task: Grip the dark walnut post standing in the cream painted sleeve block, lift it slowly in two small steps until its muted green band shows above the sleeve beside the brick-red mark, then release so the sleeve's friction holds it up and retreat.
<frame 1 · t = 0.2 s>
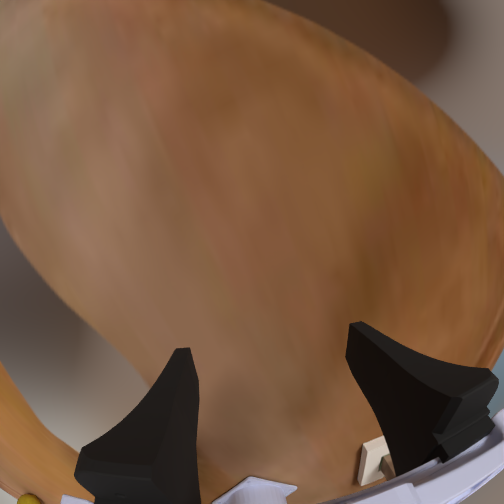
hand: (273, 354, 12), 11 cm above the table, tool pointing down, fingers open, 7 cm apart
post: (397, 465, 27), point 3 cm above the table, slide at 0.0 cm
lemon: (35, 494, 27), on the table
sleeve block: (388, 451, 30), on the table
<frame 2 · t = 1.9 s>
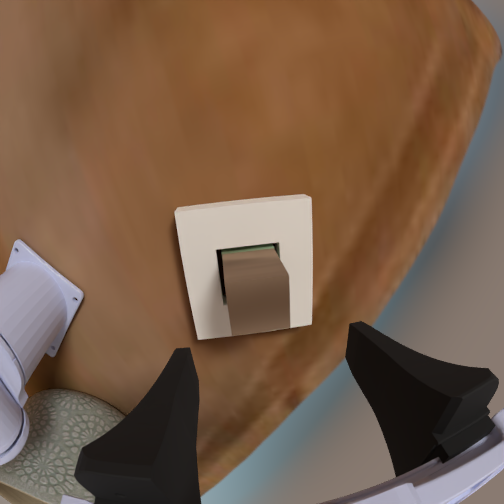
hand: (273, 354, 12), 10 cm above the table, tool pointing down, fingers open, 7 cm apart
post: (252, 283, 19), point 3 cm above the table, slide at 0.0 cm
planter: (91, 417, 26), on the table
sleeve block: (247, 266, 22), on the table
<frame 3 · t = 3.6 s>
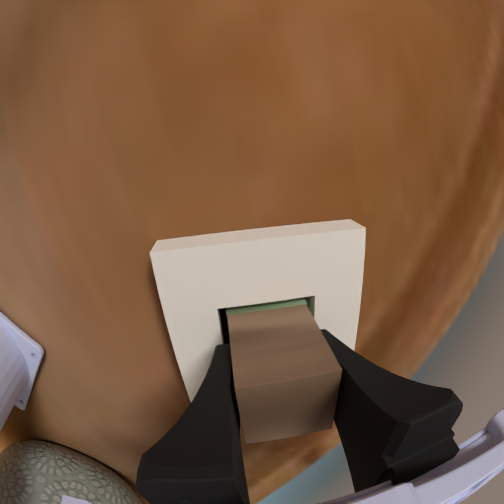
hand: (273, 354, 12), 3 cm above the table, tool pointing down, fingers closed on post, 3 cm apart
post: (275, 360, 12), point 3 cm above the table, slide at 0.0 cm, touching gripper
planter: (77, 466, 19), on the table
sleeve block: (264, 323, 15), on the table
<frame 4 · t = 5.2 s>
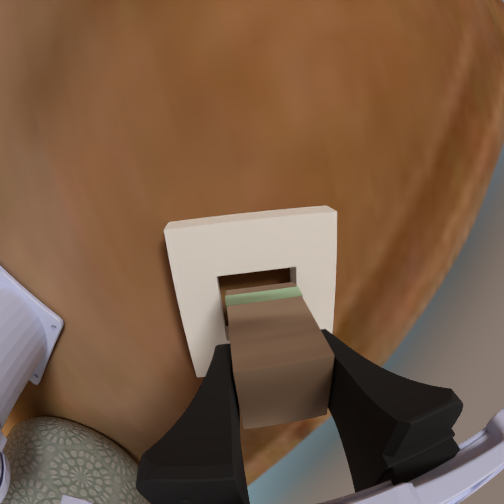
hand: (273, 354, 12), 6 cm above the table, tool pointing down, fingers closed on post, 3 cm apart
post: (272, 349, 13), point 6 cm above the table, slide at 2.6 cm, touching gripper
planter: (83, 444, 22), on the table
sleeve block: (256, 292, 18), on the table
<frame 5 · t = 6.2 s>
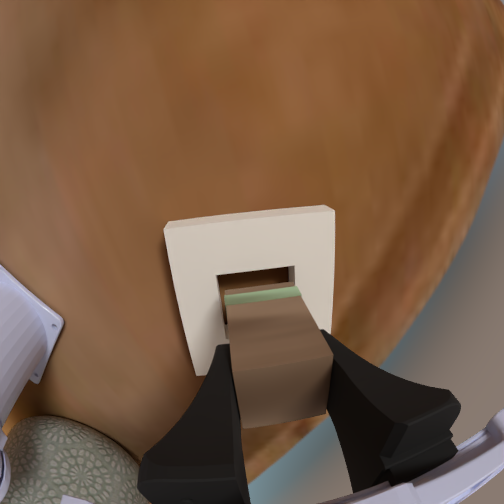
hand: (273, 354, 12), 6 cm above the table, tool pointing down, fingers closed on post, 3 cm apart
post: (271, 349, 13), point 6 cm above the table, slide at 2.7 cm, touching gripper
planter: (83, 443, 23), on the table
sleeve block: (254, 291, 18), on the table
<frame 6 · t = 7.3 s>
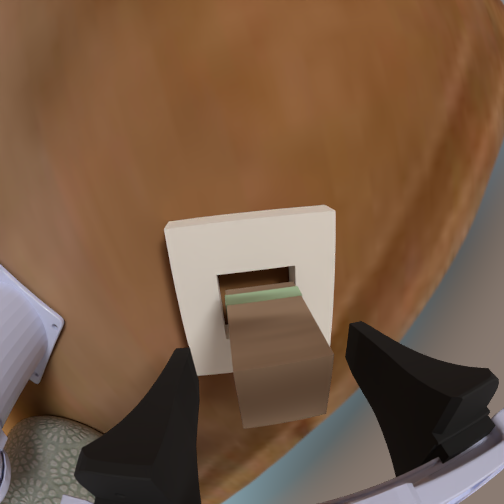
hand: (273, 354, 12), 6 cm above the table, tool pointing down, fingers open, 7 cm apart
post: (271, 349, 13), point 6 cm above the table, slide at 2.7 cm
planter: (83, 443, 23), on the table
sleeve block: (255, 291, 18), on the table
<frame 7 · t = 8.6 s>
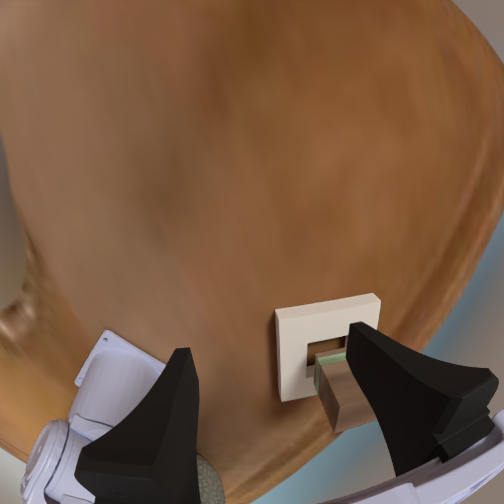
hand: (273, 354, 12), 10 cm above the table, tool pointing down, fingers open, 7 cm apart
post: (345, 387, 20), point 6 cm above the table, slide at 2.7 cm
planter: (161, 456, 30), on the table
sleeve block: (324, 346, 26), on the table
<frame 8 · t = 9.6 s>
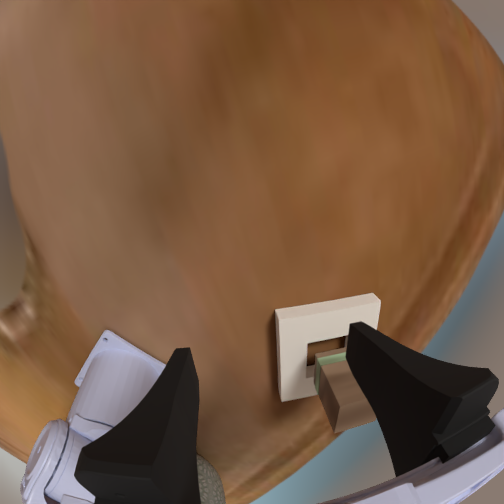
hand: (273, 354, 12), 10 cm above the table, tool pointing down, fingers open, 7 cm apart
post: (345, 387, 20), point 6 cm above the table, slide at 2.7 cm
planter: (161, 457, 30), on the table
sleeve block: (324, 346, 26), on the table
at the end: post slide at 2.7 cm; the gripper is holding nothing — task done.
